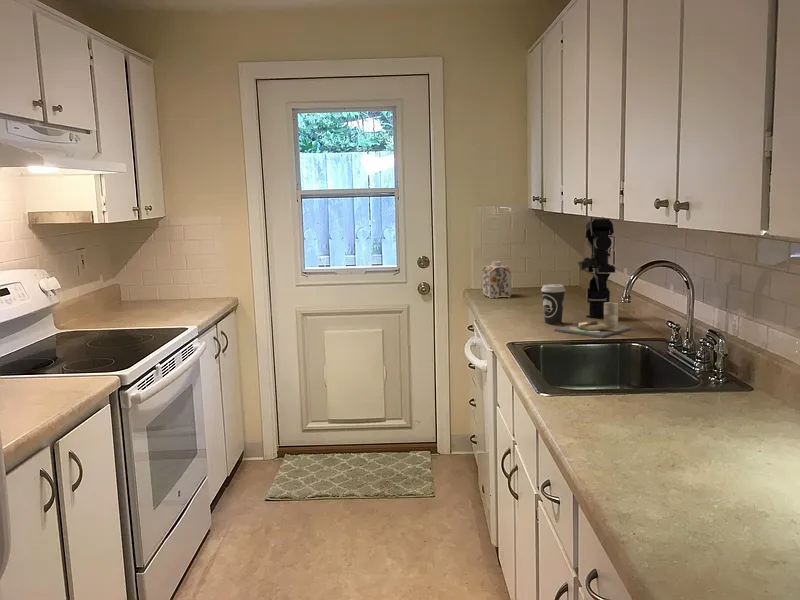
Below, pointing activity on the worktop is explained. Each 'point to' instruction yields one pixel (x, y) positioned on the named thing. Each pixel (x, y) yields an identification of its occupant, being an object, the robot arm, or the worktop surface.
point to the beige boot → (609, 319)
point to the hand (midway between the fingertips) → (600, 291)
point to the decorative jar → (496, 280)
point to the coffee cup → (553, 303)
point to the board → (597, 333)
